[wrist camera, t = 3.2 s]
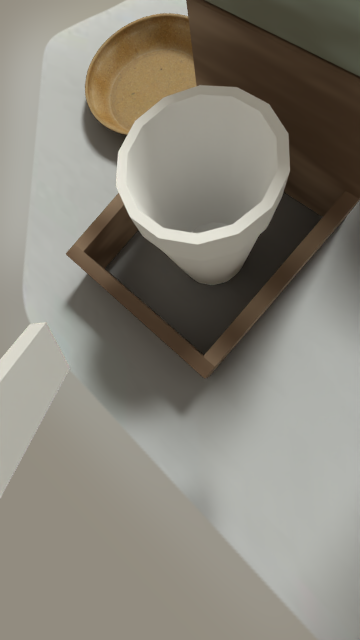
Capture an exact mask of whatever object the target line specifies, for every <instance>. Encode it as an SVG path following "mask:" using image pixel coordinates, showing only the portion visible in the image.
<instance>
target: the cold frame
mask: <svg viewBox="0 0 360 640" xmlns="http://www.w3.org/2000/svg"><path fill="white" fill-rule="evenodd" d="M186 1H187V9H188V18H189V26H190V35H191V43H192V52H193V60H194V69H195V77H196V86H199V85H206V86H225V87H238V88H240V89H242V90H243V91H245V92H247V93H249V94H251V95H253V96H255V97H257V98H259V99H261V100H262V101H264V102H266V103H268V104H269V105H270V106H271V108H272V109H273V111H274V112H275V114H276V115H277V117H278V118H279V120H280V122H281V123H282V125H283V126H284V128H285V129H286V131H287V132H288V134H289V158H290V173H289V176H288V179H287V182H286V186H285V189H284V192H285V193H286V194H288V195H289V196H291V197H292V198H294V199H296V200H297V201H299V202H300V203H302V204H303V205H305V206H306V207H308V208H310V209H311V210H313V211H314V212H316V213H317V214H319V215H320V216H322V219H321V220H320V221H319V222H318V223H317V224H316V226H315V227H314V228H313V229H312V230H311V231H310V233H309V234H308V235H307V236H306V237H305V238H304V240H303V241H302V242H301V243H300V244H299V245H298V247H297V248H296V249H295V250H294V251H293V252H292V254H291V255H290V256H289V257H288V258H287V259H286V261H285V262H284V263H283V264H282V265H281V266H280V267H279V269H278V270H277V271H276V272H275V273H274V274H273V276H272V277H271V278H270V279H269V280H268V281H267V283H266V284H265V285H264V286H263V287H262V288H261V290H260V291H259V292H258V293H257V294H256V295H255V297H254V298H253V299H252V300H251V301H250V302H249V304H248V305H247V306H246V307H245V308H244V309H243V311H242V312H241V313H240V314H239V315H238V316H237V318H236V319H235V320H234V321H233V322H232V323H231V325H230V326H229V327H228V328H227V329H226V330H225V332H224V333H223V334H222V335H221V336H220V337H219V339H218V340H217V341H216V342H215V343H214V344H213V346H212V347H211V348H210V349H209V350H208V351H207V352H206V354H205V355H203V354H202V353H201V352H200V351H199V350H198V349H196V348H195V347H194V346H193V345H192V344H191V343H190V342H188V341H187V340H186V339H185V338H184V337H183V336H182V335H180V334H179V333H178V332H177V331H176V330H175V329H174V328H172V327H171V326H170V325H169V324H168V323H167V322H166V321H164V320H163V319H162V318H161V317H160V316H159V315H157V314H156V313H155V312H154V311H153V310H152V309H151V308H149V307H148V306H147V305H146V304H145V303H144V302H143V301H141V300H140V299H139V298H138V297H137V296H136V295H135V294H133V293H132V292H131V291H130V290H129V289H128V288H127V287H125V286H124V285H123V284H122V283H121V282H120V281H119V280H117V279H116V278H115V277H114V276H113V275H112V274H110V273H109V272H108V271H107V270H106V269H105V268H106V267H107V265H108V264H109V263H110V262H111V261H112V260H113V259H114V257H115V256H116V255H117V254H118V253H119V252H120V250H121V249H122V248H123V247H124V246H125V245H126V244H127V242H128V241H129V240H130V239H131V238H132V237H133V235H134V234H135V233H136V232H137V231H138V228H137V227H136V225H135V224H134V222H133V221H132V219H131V218H130V216H129V214H128V212H127V210H126V207H125V205H124V203H123V201H122V199H121V196H120V194H119V193H118V194H117V195H116V197H115V198H114V199H113V200H112V201H111V202H110V203H109V205H108V206H107V207H106V208H105V209H104V210H103V212H102V213H101V214H100V215H99V216H98V217H97V218H96V220H95V221H94V222H93V223H92V224H91V225H90V226H89V228H88V229H87V230H86V231H85V232H84V233H83V234H82V236H81V237H80V238H79V239H78V240H77V241H76V243H75V244H74V245H73V246H72V247H71V248H70V249H69V251H68V252H67V253H66V255H67V256H68V257H70V258H71V259H72V260H73V261H74V262H75V263H76V264H77V265H78V266H80V267H81V268H82V269H83V270H84V271H85V272H86V273H87V274H89V275H90V276H91V277H92V278H93V279H94V280H95V281H96V282H97V283H99V284H100V285H101V286H102V287H103V288H104V289H105V290H106V291H107V292H109V293H110V294H111V295H112V296H113V297H114V298H115V299H116V300H118V301H119V302H120V303H121V304H122V305H123V306H124V307H125V308H126V309H128V310H129V311H130V312H131V313H132V314H133V315H134V316H135V317H136V318H138V319H139V320H140V321H141V322H142V323H143V324H144V325H145V326H146V327H148V328H149V329H150V330H151V331H152V332H153V333H154V334H155V335H157V336H158V337H159V338H160V339H161V340H162V341H163V342H164V343H165V344H167V345H168V346H169V347H170V348H171V349H172V350H173V351H174V352H175V353H177V354H178V355H179V356H180V357H181V358H182V359H183V360H184V361H186V362H187V363H188V364H189V365H190V366H191V367H192V368H193V369H194V370H196V371H197V372H198V373H199V374H200V375H201V376H202V377H203V378H204V379H205V378H208V377H209V376H210V375H211V374H212V373H213V372H214V370H215V369H216V368H217V367H218V366H219V365H220V363H221V362H222V361H223V360H224V359H225V358H226V356H227V355H228V354H229V353H230V352H231V351H232V349H233V348H234V347H235V346H236V345H237V344H238V342H239V341H240V340H241V339H242V338H243V337H244V335H245V334H246V333H247V332H248V331H249V330H250V328H251V327H252V326H253V325H254V324H255V323H256V321H257V320H258V319H259V318H260V317H261V316H262V314H263V313H264V312H265V311H266V310H267V309H268V307H269V306H270V305H271V304H272V303H273V302H274V300H275V299H276V298H277V297H278V296H279V295H280V293H281V292H282V291H283V290H284V289H285V288H286V286H287V285H288V284H289V283H290V282H291V281H292V279H293V278H294V277H295V276H296V275H297V274H298V272H299V271H300V270H301V269H302V268H303V267H304V265H305V264H306V263H307V262H308V261H309V260H310V258H311V257H312V256H313V255H314V254H315V253H316V251H317V250H318V249H319V248H320V247H321V246H322V244H323V243H324V242H325V241H326V240H327V239H328V237H329V236H330V235H331V234H332V233H333V232H334V230H335V229H336V228H337V227H338V226H339V225H340V223H341V222H342V221H343V220H344V219H345V218H346V216H347V215H348V214H349V213H350V211H351V210H352V209H353V207H354V206H355V205H356V204H357V202H358V201H359V200H360V0H186Z"/></svg>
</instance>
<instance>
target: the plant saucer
mask: <svg viewBox="0 0 360 640" xmlns="http://www.w3.org/2000/svg"><path fill="white" fill-rule="evenodd" d="M193 87H196V77H195V69H194V60H193V52H192V43H191V35H190V26H189V18H188V16H185V15H180V14H171V13H169V14H166V13H163V14H156V15H151V16H147V17H143V18H141V19H138V20H136V21H134V22H131V23H129V24H128V25H126V26H124V27H123V28H121V29H120V30H118V31H117V32H116V33H115V34H113V35H112V36H111V37H110V38H108V39H107V40H106V41H105V42H104V44H103V45H102V46H101V47H100V48H99V50H98V51H97V53H96V54H95V56H94V58H93V59H92V61H91V64H90V66H89V68H88V71H87V76H86V82H85V94H86V100H87V103H88V106H89V108H90V110H91V112H92V114H93V115H94V116H95V118H96V119H97V120H98V121H99V122H100V123H101V124H103V125H104V126H105V127H107V128H109V129H111V130H113V131H115V132H118V133H121V134H124V135H128V133H129V131H130V129H131V128H132V126H133V124H134V122H135V121H136V120H137V119H138V118H139V117H141V116H142V115H143V114H144V113H145V112H147V111H148V110H149V109H150V108H151V107H153V106H154V105H155V104H156V103H158V102H159V101H160V100H161V99H162V98H164V97H166V96H169V95H172V94H175V93H178V92H181V91H184V90H187V89H190V88H193Z"/></svg>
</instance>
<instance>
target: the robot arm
mask: <svg viewBox="0 0 360 640" xmlns="http://www.w3.org/2000/svg"><path fill="white" fill-rule="evenodd" d="M69 369H70V366H69V364H68V362H67V361H66V359H65V357H64V355H63V353H62V351H61V349H60V347H59V345H58V344H57V342H56V340H55V338H54V336H53V334H52V332H51V330H50V329H49V327H48V325H47V323H46V322H44V323H34V324H30V325H29V326H28V327H27V328H26V330H25V331H24V332H23V333H22V334H21V336H20V337H19V338H18V339H17V340H16V341H15V343H14V344H13V345H12V347H10V349H9V350H8V351H7V352H6V353H5V355H4V356H3V357H2V358H1V359H0V498H1V496H2V494H3V492H4V490H5V488H6V487H7V485H8V483H9V481H10V479H11V477H12V476H13V474H14V472H15V470H16V468H17V466H18V464H19V462H20V460H21V458H22V457H23V455H24V453H25V451H26V449H27V448H28V446H29V444H30V442H31V440H32V438H33V436H34V435H35V433H36V431H37V428H38V427H39V425H40V423H41V421H42V420H43V418H44V416H45V414H46V412H47V410H48V408H49V407H50V405H51V403H52V401H53V399H54V397H55V395H56V393H57V392H58V390H59V388H60V386H61V384H62V382H63V380H64V379H65V377H66V375H67V373H68V371H69Z"/></svg>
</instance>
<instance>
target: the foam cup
mask: <svg viewBox="0 0 360 640" xmlns="http://www.w3.org/2000/svg"><path fill="white" fill-rule="evenodd" d="M289 173H290V158H289V134H288V132H287V131H286V129H285V128H284V126H283V125H282V123H281V122H280V120H279V118H278V117H277V115H276V114H275V112H274V111H273V109H272V108H271V106H270V105H269V104H268V103H266V102H264V101H262V100H261V99H259V98H257V97H255V96H253V95H251V94H249V93H247V92H245V91H243V90H242V89H240V88H238V87H225V86H206V85H199V86H196V87H193V88H190V89H187V90H184V91H181V92H178V93H175V94H172V95H169V96H166V97H164V98H162V99H161V100H160V101H159V102H158V103H156V104H155V105H154V106H153V107H151V108H150V109H149V110H148V111H147V112H145V113H144V114H143V115H142V116H141V117H139V118H138V119H137V120H136V121H135V122H134V124H133V126H132V128H131V129H130V131H129V133H128V135H127V137H126V139H125V140H124V142H123V144H122V146H121V148H120V150H119V151H118V160H117V176H116V188H117V190H118V192H119V194H120V196H121V199H122V201H123V203H124V205H125V207H126V210H127V212H128V214H129V216H130V218H131V219H132V221H133V222H134V224H135V225H136V227H137V228H138V230H139V231H140V233H141V234H142V236H143V237H145V238H146V239H147V240H149V241H150V242H151V243H153V244H154V245H155V246H157V247H158V248H159V249H161V250H162V251H163V252H164V253H165V254H166V255H167V256H168V257H169V258H171V259H172V260H173V261H174V262H175V263H176V264H177V265H178V266H179V267H180V268H181V269H182V270H183V271H184V272H185V273H186V274H187V275H189V276H190V277H191V278H193V279H194V280H195V281H197V282H198V283H203V284H208V285H216V284H220V283H224V282H227V281H229V280H230V279H231V278H232V277H234V276H235V275H236V274H238V273H239V271H240V270H241V268H242V266H243V264H244V262H245V260H246V259H247V257H248V255H249V253H250V251H251V249H252V248H253V246H254V244H255V242H256V240H257V238H258V236H259V235H260V234H261V233H262V232H263V231H265V230H266V229H267V227H268V225H269V223H270V221H271V219H272V217H273V214H274V212H275V210H276V208H277V206H278V204H279V202H280V200H281V198H282V195H283V192H284V189H285V186H286V182H287V179H288V176H289Z"/></svg>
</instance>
